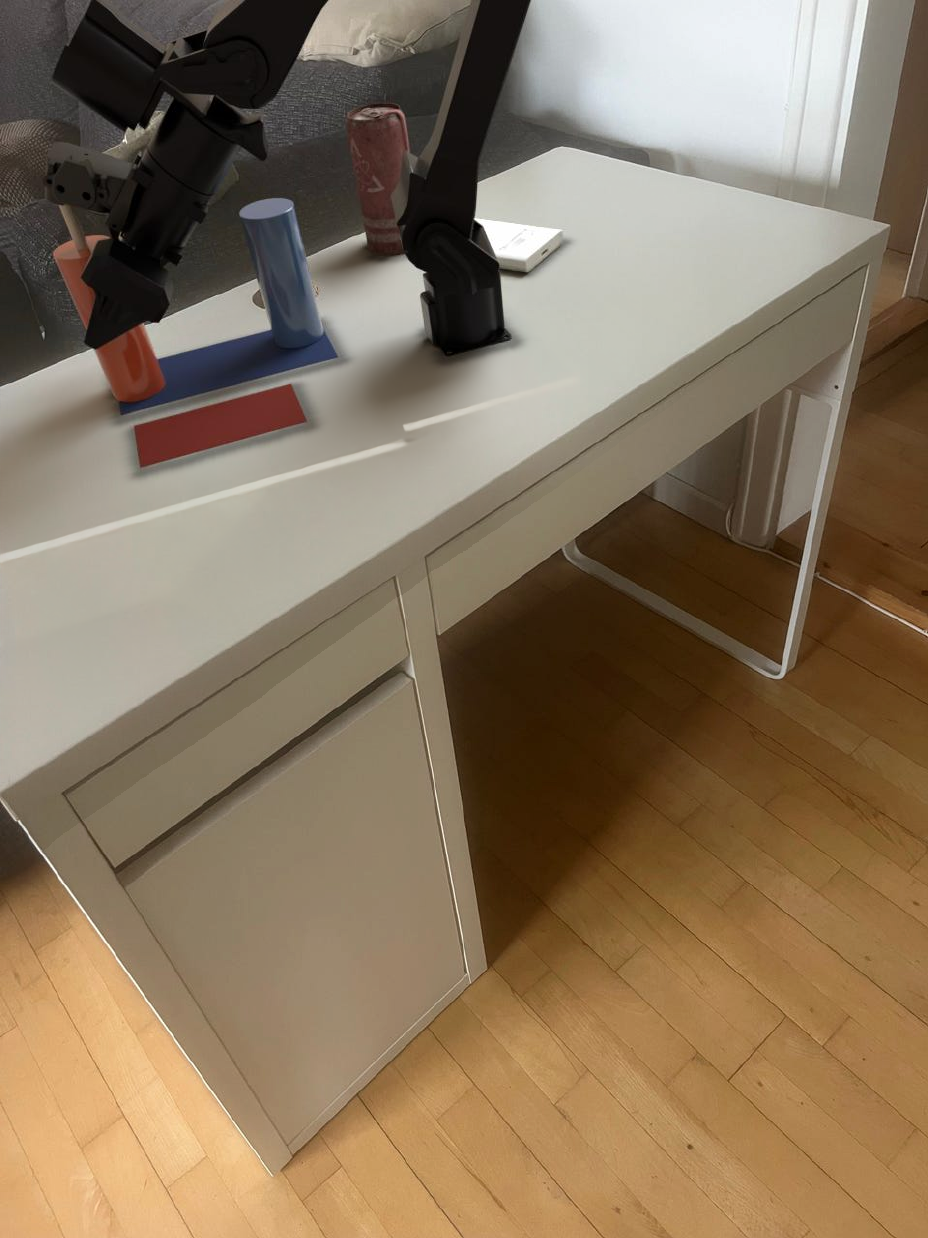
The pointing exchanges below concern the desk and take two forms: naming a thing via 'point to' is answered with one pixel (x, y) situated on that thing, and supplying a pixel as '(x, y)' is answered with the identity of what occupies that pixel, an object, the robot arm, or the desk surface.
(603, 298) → the desk surface
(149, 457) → the oxblood mat
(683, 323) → the desk surface
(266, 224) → the slate blue jar
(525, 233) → the hard drive
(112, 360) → the orange red candle
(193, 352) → the navy mat
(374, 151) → the can
